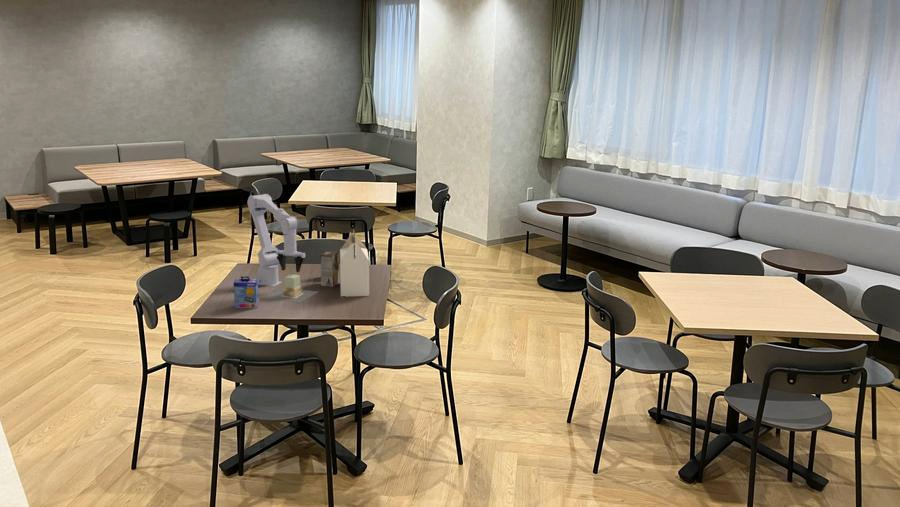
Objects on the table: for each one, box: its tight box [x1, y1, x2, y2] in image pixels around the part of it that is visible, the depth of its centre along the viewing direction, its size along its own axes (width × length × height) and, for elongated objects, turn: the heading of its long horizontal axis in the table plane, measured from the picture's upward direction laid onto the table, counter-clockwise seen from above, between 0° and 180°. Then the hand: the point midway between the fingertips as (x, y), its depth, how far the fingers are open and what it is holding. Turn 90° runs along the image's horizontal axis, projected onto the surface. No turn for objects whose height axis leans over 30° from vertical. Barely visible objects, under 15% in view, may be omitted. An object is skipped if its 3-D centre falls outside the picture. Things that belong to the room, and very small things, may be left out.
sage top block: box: [284, 273, 301, 289], centre depth 344 cm, size 5×5×5 cm
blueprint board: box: [265, 288, 319, 304], centre depth 346 cm, size 18×18×1 cm
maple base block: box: [282, 285, 302, 297], centre depth 345 cm, size 6×6×4 cm
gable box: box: [339, 229, 370, 297], centre depth 355 cm, size 22×13×28 cm, turn 8°
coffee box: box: [319, 250, 340, 288], centre depth 363 cm, size 9×6×16 cm
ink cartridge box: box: [233, 275, 260, 309], centre depth 328 cm, size 10×6×14 cm, turn 95°
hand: (290, 270), depth 350 cm, fingers open, 7 cm apart
